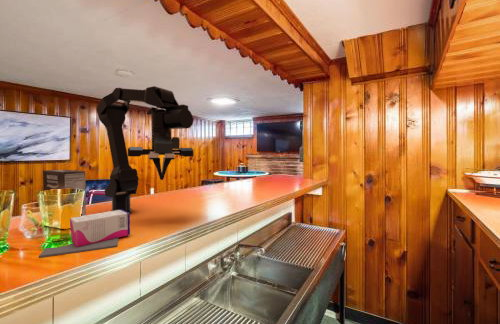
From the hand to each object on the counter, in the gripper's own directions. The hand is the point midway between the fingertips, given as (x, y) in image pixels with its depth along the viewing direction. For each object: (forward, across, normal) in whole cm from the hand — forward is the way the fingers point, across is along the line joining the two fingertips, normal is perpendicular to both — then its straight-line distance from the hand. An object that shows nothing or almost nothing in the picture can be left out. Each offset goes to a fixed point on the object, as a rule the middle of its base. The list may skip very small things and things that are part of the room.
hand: (161, 179), depth 76 cm
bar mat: (+13, -18, -10) cm, 25 cm away
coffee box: (+13, -26, +6) cm, 30 cm away
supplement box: (+10, -10, -9) cm, 16 cm away
